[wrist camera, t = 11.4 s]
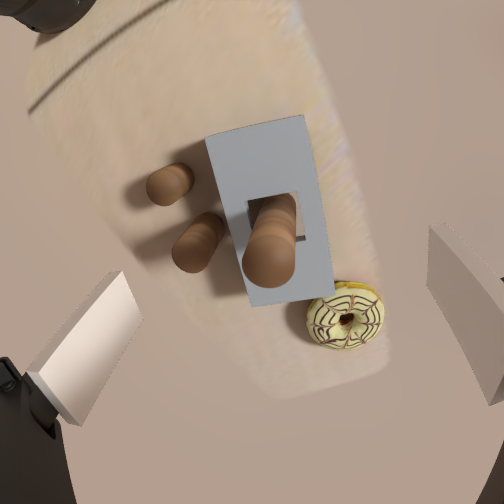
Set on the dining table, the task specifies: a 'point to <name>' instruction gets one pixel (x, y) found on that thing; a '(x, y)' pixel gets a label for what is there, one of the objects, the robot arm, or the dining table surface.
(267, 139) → the bridge
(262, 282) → the long dowel
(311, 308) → the decorated donut
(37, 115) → the dining table surface
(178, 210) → the dining table surface
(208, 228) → the medium dowel
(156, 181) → the short dowel
